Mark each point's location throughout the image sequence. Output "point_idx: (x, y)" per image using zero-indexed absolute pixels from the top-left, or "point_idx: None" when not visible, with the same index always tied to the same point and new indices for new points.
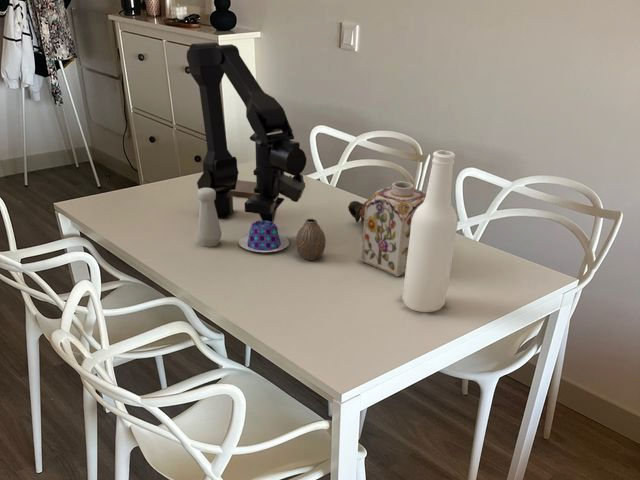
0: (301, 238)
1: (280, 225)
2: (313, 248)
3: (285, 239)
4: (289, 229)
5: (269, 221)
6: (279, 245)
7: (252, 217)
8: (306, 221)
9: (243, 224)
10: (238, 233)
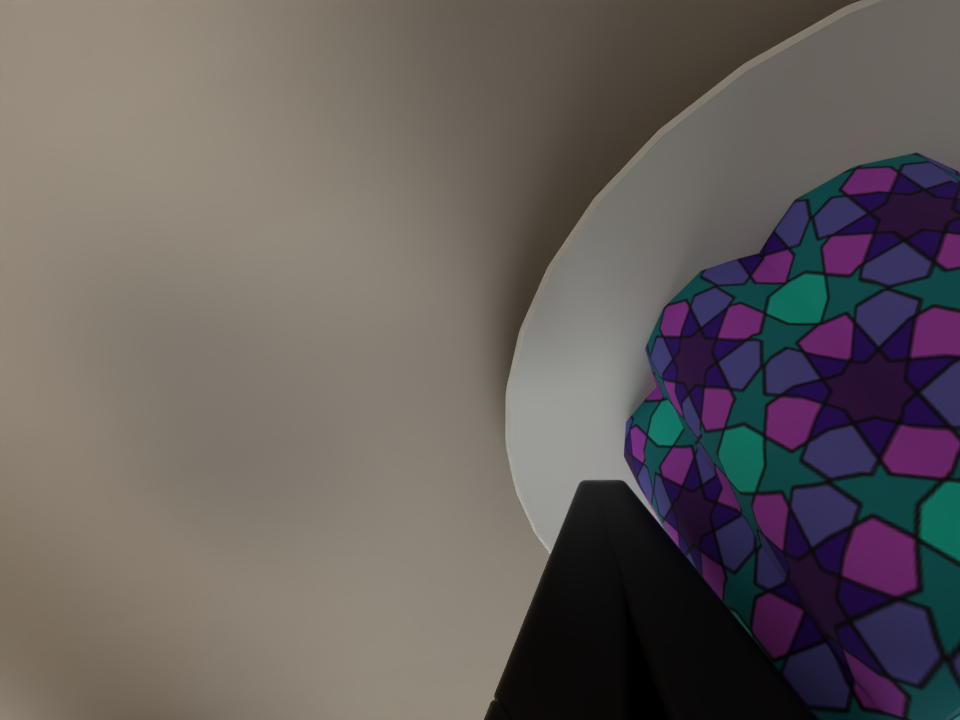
0: None
1: (74, 412)
2: None
3: (694, 138)
4: (105, 259)
5: (954, 711)
6: (947, 167)
7: (106, 669)
8: None
9: (310, 691)
10: None
